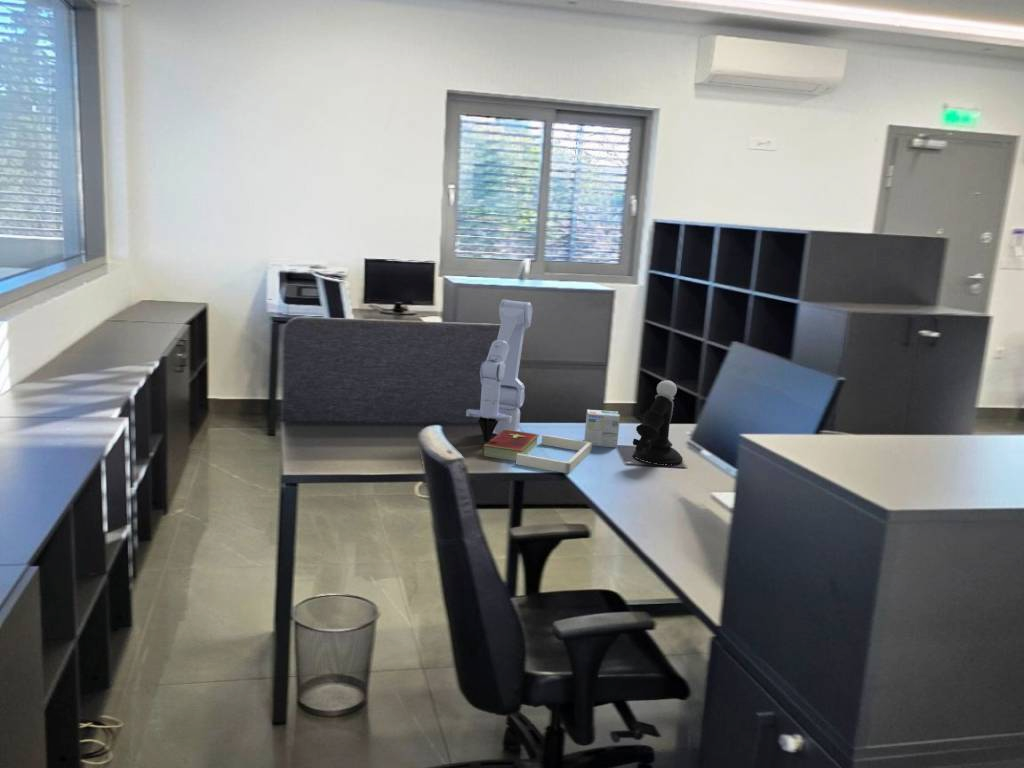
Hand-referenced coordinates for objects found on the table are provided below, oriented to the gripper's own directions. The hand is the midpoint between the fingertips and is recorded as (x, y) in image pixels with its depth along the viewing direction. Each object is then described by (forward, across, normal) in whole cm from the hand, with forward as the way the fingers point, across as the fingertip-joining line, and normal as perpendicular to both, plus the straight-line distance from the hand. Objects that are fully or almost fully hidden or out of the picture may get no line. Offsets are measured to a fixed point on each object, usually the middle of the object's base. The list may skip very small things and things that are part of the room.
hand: (487, 441), depth 268 cm
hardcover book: (+2, +8, 0) cm, 8 cm away
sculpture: (+2, +50, +14) cm, 52 cm away
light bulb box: (+2, +31, +24) cm, 39 cm away
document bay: (+1, +22, 0) cm, 22 cm away
